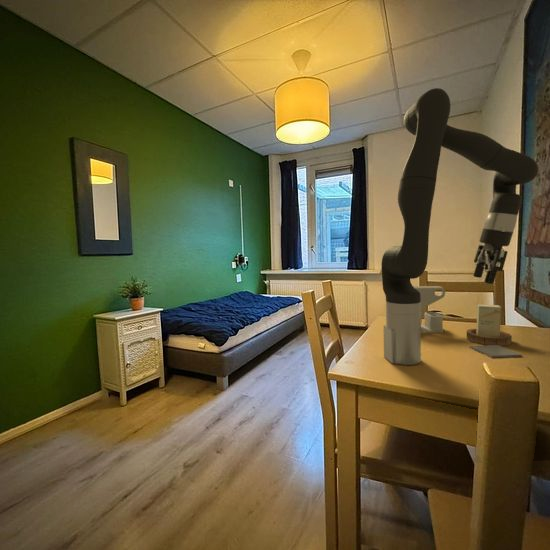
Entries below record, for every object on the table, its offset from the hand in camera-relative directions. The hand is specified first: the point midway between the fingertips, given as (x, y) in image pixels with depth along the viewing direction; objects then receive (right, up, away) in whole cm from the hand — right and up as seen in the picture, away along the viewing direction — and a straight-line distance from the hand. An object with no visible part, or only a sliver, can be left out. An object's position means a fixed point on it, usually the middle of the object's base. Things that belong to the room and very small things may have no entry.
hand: (482, 280), depth 92 cm
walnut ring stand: (+8, -21, +8) cm, 24 cm away
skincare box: (+8, -21, +8) cm, 24 cm away
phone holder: (-9, -21, +25) cm, 33 cm away
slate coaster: (+1, -22, -4) cm, 22 cm away
